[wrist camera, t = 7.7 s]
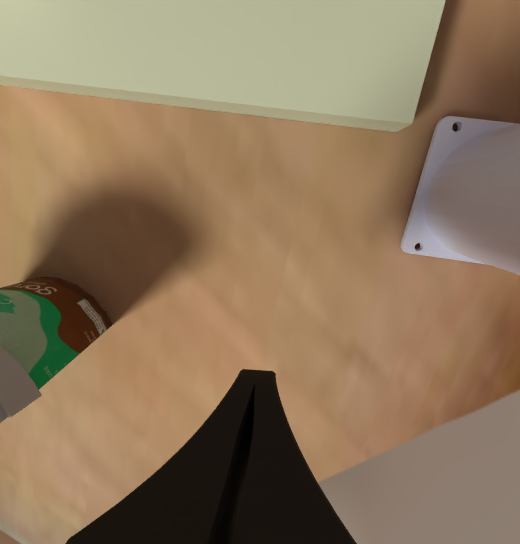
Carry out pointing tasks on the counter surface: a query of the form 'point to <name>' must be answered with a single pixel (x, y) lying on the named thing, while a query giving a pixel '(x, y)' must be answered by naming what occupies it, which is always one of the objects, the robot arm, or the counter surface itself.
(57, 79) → the board
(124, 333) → the counter surface
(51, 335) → the food container
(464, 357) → the counter surface
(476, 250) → the robot arm
